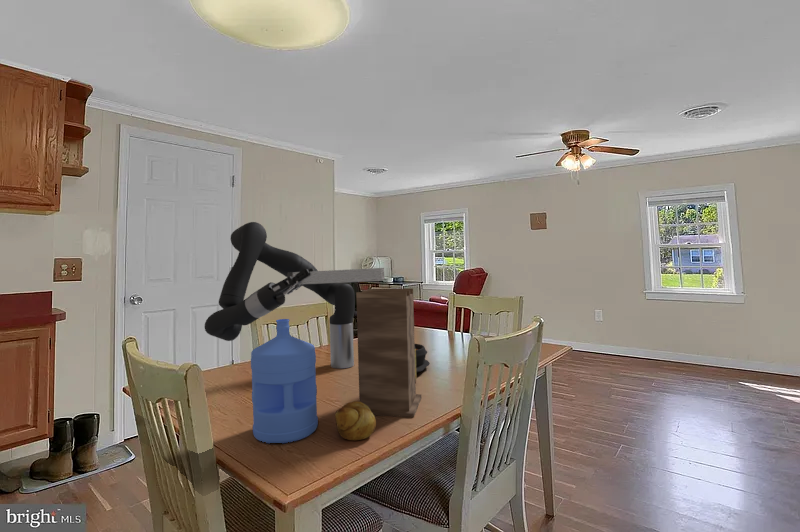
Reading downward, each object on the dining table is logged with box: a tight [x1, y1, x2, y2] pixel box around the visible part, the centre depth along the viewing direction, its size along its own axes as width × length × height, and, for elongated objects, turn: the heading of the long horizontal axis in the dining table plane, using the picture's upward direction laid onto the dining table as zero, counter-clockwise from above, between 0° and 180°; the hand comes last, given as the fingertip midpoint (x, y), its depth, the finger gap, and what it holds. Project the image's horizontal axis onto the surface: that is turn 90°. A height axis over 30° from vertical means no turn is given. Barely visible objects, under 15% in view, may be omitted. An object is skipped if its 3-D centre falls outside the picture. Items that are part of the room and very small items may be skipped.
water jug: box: [250, 318, 319, 444], centre depth 100 cm, size 16×16×28 cm
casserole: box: [414, 343, 430, 373], centre depth 154 cm, size 25×19×8 cm
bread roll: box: [334, 400, 377, 441], centre depth 99 cm, size 13×10×8 cm
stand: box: [355, 287, 422, 418], centre depth 116 cm, size 15×17×34 cm
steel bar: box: [286, 267, 386, 285], centre depth 115 cm, size 4×28×4 cm, turn 79°
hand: (311, 271), depth 116 cm, fingers closed on steel bar, 3 cm apart
